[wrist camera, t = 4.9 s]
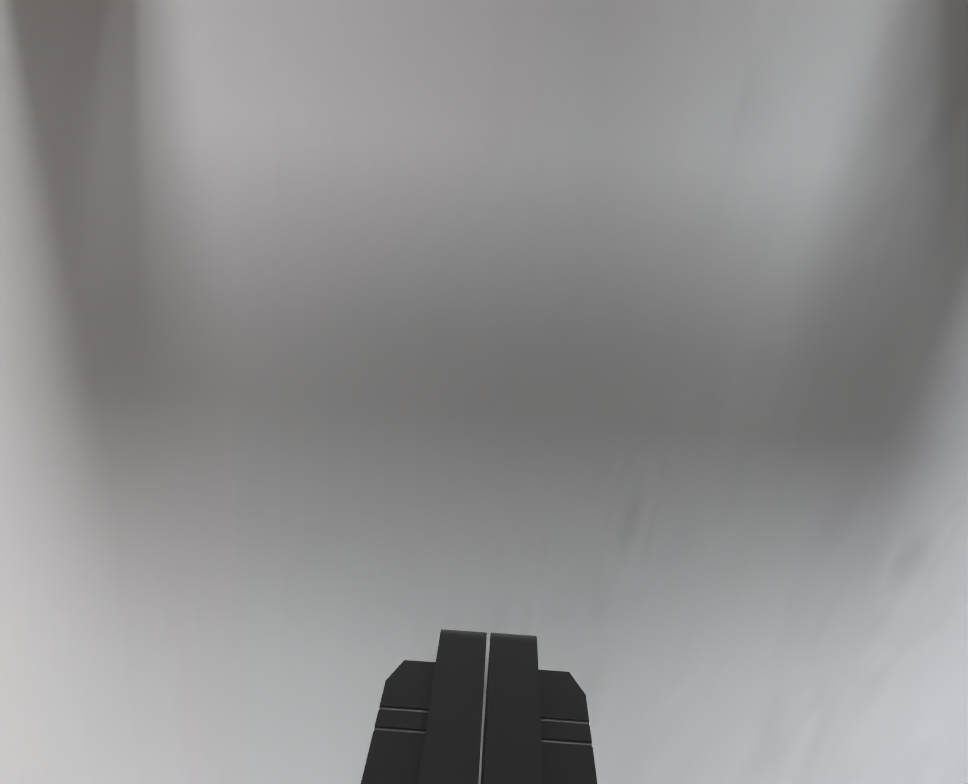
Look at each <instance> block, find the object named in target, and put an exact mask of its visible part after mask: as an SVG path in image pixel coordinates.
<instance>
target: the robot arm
mask: <svg viewBox="0 0 968 784" xmlns="http://www.w3.org/2000/svg"><path fill="white" fill-rule="evenodd" d="M486 636H487V633H484V632H470V631H456V630H442V629H441V633H440V639H439V646H438V652H437V659H436V662H422V661H408V660H404V661H403V662H402V663H401V665H400V666H399V667H398V668H397V669H396V670H395V671H394V672H393V673H392V674H391V675H390V677H389V678H388V679H387V680H386V682H385V686H384V690H383V694H382V698H381V703H380V709H379V711H378V715H377V719H376V723H375V730H374V732H373V736H372V740H371V744H370V748H369V752H368V757H367V761H366V765H365V769H364V773H363V777H362V782H361V784H478V778H479V760H480V742H481V725H482V707H483V689H484V671H485V653H486ZM481 784H597V778H596V771H595V763H594V756H593V748H592V740H591V733H590V726H589V717H588V710H587V702H586V695H585V694H584V692H583V691H582V689H581V688H580V687H579V685H578V684H577V682H576V681H575V680H574V678H573V677H572V675H571V674H570V673H569V672H562V671H548V670H538V654H537V637H536V636H528V635H514V634H500V633H491V635H490V649H489V663H488V677H487V691H486V705H485V719H484V734H483V751H482V769H481Z"/></svg>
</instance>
